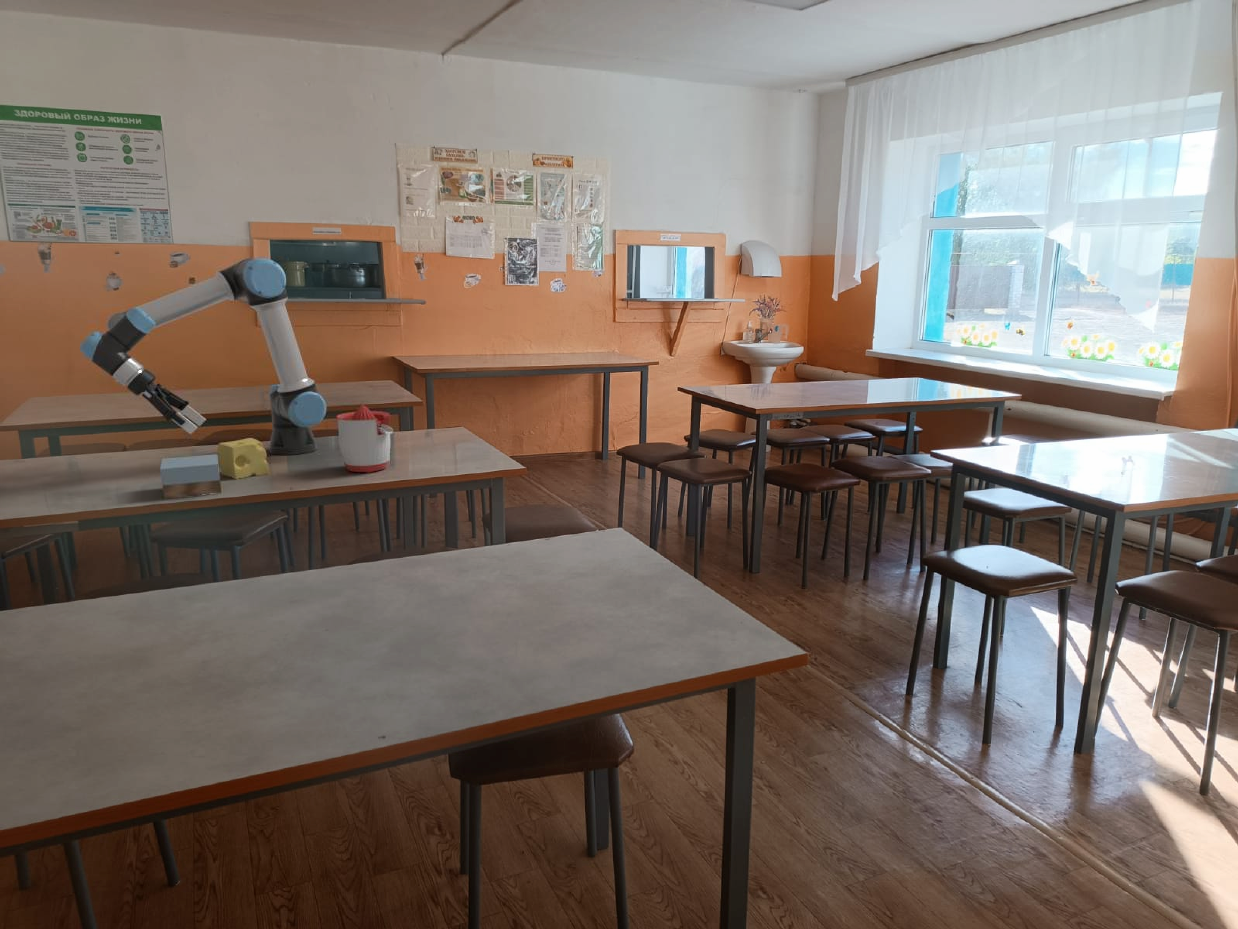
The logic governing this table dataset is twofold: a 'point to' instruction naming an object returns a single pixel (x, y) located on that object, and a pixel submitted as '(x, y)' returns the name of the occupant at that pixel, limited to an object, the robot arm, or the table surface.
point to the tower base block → (191, 489)
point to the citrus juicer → (364, 439)
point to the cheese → (242, 458)
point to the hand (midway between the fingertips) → (198, 426)
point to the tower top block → (189, 469)
